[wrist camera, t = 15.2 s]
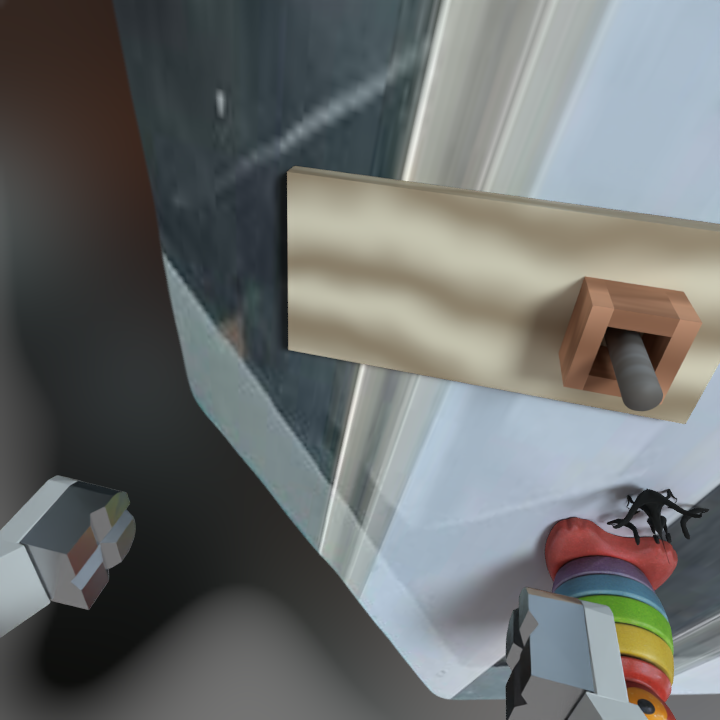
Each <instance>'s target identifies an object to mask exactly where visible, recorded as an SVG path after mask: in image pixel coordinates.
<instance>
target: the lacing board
mask: <svg viewBox="0 0 720 720" xmlns="http://www.w3.org/2000/svg"><path fill="white" fill-rule="evenodd" d="M287 224H288V350H292V351H297V352H302V353H308V354H313V355H318V356H324V357H329V358H335V359H340V360H345V361H351V362H356V363H361V364H367V365H372V366H377V367H383V368H388V369H393V370H399V371H404V372H409V373H415V374H420V375H425V376H431V377H436V378H442V379H447V380H452V381H458V382H463V383H468V384H474V385H479V386H484V387H490V388H495V389H500V390H506V391H511V392H516V393H522V394H527V395H533V396H538V397H543V398H549V399H554V400H559V401H565V402H570V403H575V404H581V405H586V406H591V407H597V408H602V409H607V410H613V411H618V412H623V413H629V414H634V415H640V416H645V417H650V418H656V419H661V420H666V421H672V422H677V423H682V424H686V422H687V420H688V418H689V417H690V415H691V413H692V411H693V409H694V408H695V406H696V404H697V402H698V400H699V399H700V397H701V395H702V393H703V391H704V390H705V388H706V386H707V384H708V382H709V381H710V379H711V377H712V375H713V373H714V372H715V370H716V368H717V366H718V364H719V363H720V224H716V223H708V222H701V221H694V220H686V219H679V218H672V217H664V216H657V215H650V214H642V213H635V212H628V211H621V210H613V209H606V208H599V207H591V206H584V205H577V204H569V203H562V202H555V201H547V200H540V199H533V198H526V197H518V196H511V195H504V194H496V193H489V192H482V191H474V190H467V189H460V188H452V187H445V186H438V185H431V184H423V183H416V182H409V181H401V180H394V179H387V178H379V177H372V176H365V175H357V174H350V173H343V172H336V171H328V170H321V169H314V168H306V167H299V166H294V167H292V168H291V169H290V170H289V171H287ZM585 276H586V277H593V278H599V279H606V280H612V281H619V282H625V283H631V284H638V285H644V286H651V287H657V288H664V289H670V290H677V291H683V292H684V293H685V295H686V296H687V298H688V300H689V301H690V303H691V305H692V306H693V308H694V310H695V311H696V313H697V315H698V316H699V318H700V320H701V321H702V325H701V327H700V329H699V331H698V333H697V335H696V337H695V339H694V341H693V343H692V345H691V347H690V349H689V351H688V353H687V355H686V357H685V359H684V361H683V363H682V365H681V367H680V369H679V370H678V372H677V374H676V376H675V378H674V380H673V382H672V384H671V386H670V388H669V390H668V392H667V394H666V396H665V398H664V400H663V402H662V404H660V403H661V401H662V399H663V392H662V389H661V387H660V384H659V382H658V379H657V377H656V374H655V371H654V369H653V366H652V364H651V361H650V359H649V356H648V354H647V351H646V349H645V346H644V344H643V341H642V339H641V338H642V336H643V334H644V332H638V331H632V330H626V329H620V328H614V327H608V326H607V329H606V332H605V334H604V337H603V339H602V342H601V344H600V345H601V346H607V348H608V351H609V355H610V358H611V362H612V365H613V369H614V372H615V376H616V379H617V383H618V386H619V389H620V393H621V396H622V397H617V396H611V395H606V394H601V393H595V392H590V391H584V390H579V389H573V388H568V387H563V380H562V374H561V367H560V360H559V354H558V353H559V350H560V347H561V344H562V342H563V339H564V336H565V333H566V330H567V327H568V324H569V321H570V318H571V315H572V312H573V309H574V306H575V303H576V301H577V298H578V295H579V292H580V289H581V286H582V283H583V280H584V277H585Z"/></svg>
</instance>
